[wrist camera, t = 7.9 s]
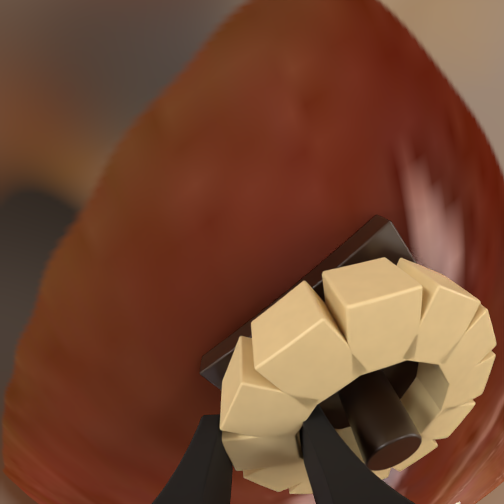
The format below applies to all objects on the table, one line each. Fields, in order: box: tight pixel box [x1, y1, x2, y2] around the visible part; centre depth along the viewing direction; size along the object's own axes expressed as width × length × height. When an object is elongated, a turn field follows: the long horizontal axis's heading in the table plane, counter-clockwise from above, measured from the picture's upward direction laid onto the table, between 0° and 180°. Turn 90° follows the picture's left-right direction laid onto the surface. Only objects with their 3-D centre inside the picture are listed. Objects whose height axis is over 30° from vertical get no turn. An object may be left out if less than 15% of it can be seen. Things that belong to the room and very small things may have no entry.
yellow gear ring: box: [220, 257, 496, 494], centre depth 9 cm, size 10×10×2 cm
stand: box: [200, 215, 422, 471], centre depth 10 cm, size 9×9×6 cm
